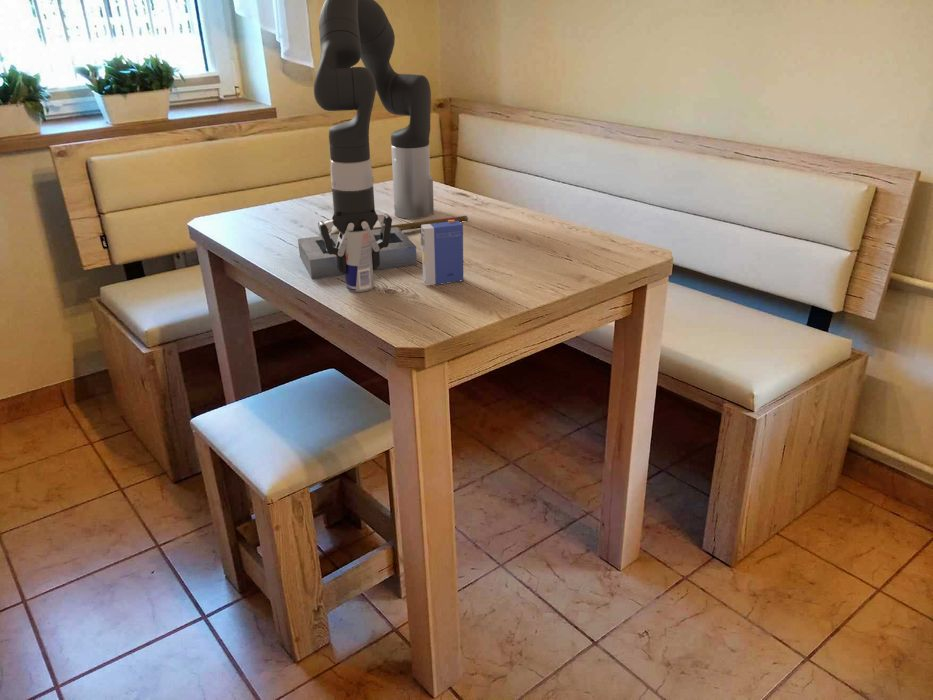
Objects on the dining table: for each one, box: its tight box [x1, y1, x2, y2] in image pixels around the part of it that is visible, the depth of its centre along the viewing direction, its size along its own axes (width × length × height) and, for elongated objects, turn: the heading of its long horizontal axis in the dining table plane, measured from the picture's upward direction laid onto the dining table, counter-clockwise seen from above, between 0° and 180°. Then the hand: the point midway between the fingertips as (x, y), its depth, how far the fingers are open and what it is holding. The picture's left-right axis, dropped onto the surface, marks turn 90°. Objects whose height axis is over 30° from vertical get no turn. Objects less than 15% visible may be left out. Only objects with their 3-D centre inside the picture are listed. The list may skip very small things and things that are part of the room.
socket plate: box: [297, 227, 418, 280], centre depth 158 cm, size 22×14×4 cm, turn 111°
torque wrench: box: [330, 215, 469, 235], centre depth 175 cm, size 5×35×5 cm
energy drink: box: [342, 230, 375, 293], centre depth 143 cm, size 5×5×12 cm
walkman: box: [420, 220, 464, 287], centre depth 145 cm, size 8×3×12 cm, turn 110°
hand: (358, 270), depth 144 cm, fingers closed on energy drink, 5 cm apart
